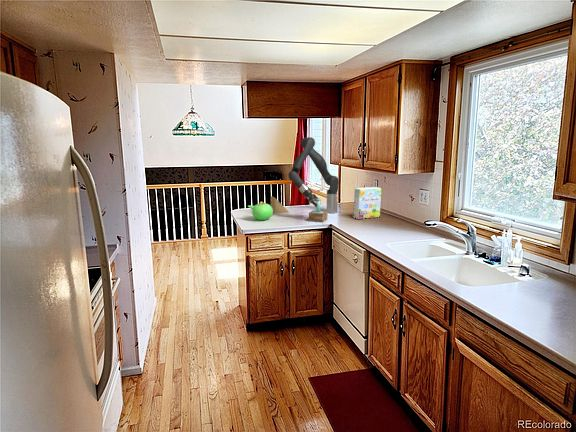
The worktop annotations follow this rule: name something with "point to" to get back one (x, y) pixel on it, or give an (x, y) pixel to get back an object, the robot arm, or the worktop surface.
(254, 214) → the green teapot
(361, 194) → the snack box
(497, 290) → the worktop surface
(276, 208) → the sandwich container
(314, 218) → the walnut box
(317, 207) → the teal piece
